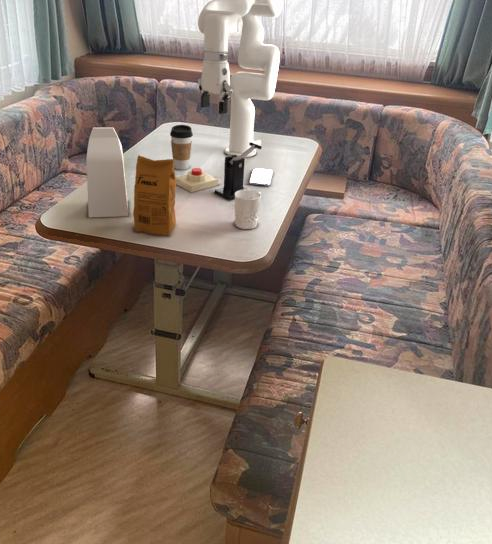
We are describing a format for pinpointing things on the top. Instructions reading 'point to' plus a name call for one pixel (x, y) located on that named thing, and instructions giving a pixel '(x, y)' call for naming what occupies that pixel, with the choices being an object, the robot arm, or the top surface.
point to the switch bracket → (232, 178)
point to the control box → (196, 181)
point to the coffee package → (154, 196)
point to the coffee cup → (181, 146)
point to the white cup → (247, 208)
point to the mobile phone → (261, 177)
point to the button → (196, 171)
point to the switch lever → (245, 152)
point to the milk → (106, 174)
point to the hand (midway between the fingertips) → (213, 110)
